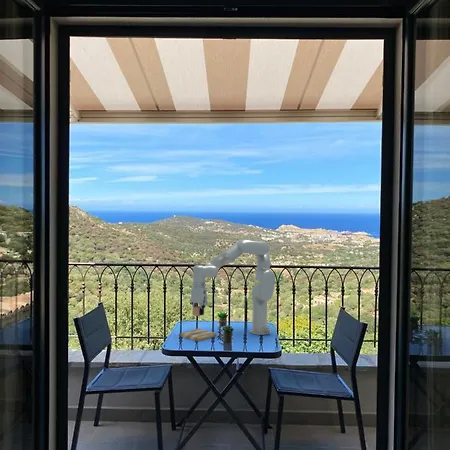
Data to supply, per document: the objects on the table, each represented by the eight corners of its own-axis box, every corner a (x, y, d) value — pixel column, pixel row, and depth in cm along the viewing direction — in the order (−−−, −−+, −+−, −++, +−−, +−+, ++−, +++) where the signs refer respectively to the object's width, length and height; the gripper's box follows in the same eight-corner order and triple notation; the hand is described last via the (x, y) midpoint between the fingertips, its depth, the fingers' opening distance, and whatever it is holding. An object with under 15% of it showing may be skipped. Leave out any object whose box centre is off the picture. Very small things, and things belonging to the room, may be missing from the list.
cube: (203, 314, 248) (204, 306, 248) (198, 316, 244) (198, 308, 244) (198, 313, 251) (198, 305, 251) (192, 314, 247) (192, 306, 247)
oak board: (216, 336, 248) (216, 333, 248) (198, 341, 236) (198, 338, 236) (198, 331, 259) (198, 328, 259) (180, 336, 246) (180, 333, 246)
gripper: (213, 286, 245) (212, 315, 245) (193, 283, 256) (193, 311, 256) (204, 287, 239) (204, 317, 239) (185, 284, 250) (184, 312, 250)
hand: (198, 313), depth 247 cm, fingers closed on cube, 5 cm apart
